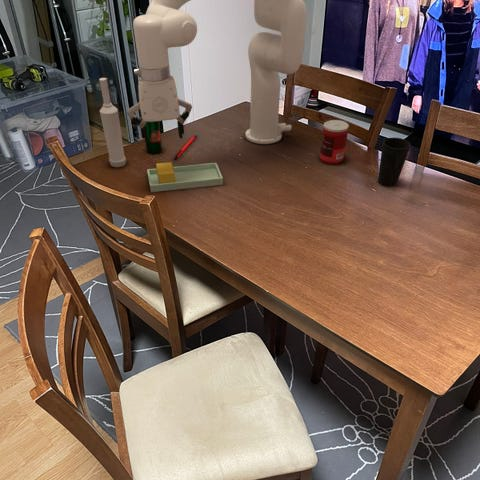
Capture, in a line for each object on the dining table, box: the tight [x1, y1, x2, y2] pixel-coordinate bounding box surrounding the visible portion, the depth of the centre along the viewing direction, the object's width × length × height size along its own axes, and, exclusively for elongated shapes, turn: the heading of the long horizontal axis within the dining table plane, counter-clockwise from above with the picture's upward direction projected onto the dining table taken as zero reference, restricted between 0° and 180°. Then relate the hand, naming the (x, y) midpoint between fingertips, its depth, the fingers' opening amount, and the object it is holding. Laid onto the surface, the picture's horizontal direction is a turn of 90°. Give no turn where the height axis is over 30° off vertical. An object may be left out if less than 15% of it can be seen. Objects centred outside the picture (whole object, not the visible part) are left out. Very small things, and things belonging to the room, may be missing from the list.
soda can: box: [144, 121, 163, 154], centre depth 153 cm, size 5×5×12 cm
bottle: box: [99, 77, 127, 168], centre depth 142 cm, size 5×5×25 cm
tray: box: [146, 162, 224, 193], centre depth 142 cm, size 21×10×2 cm, turn 103°
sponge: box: [155, 161, 175, 184], centre depth 140 cm, size 4×7×4 cm, turn 13°
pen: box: [173, 135, 197, 161], centre depth 159 cm, size 1×19×1 cm, turn 163°
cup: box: [377, 137, 412, 188], centre depth 139 cm, size 8×8×12 cm
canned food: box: [319, 119, 350, 165], centre depth 150 cm, size 8×8×11 cm
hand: (163, 138), depth 133 cm, fingers open, 9 cm apart
